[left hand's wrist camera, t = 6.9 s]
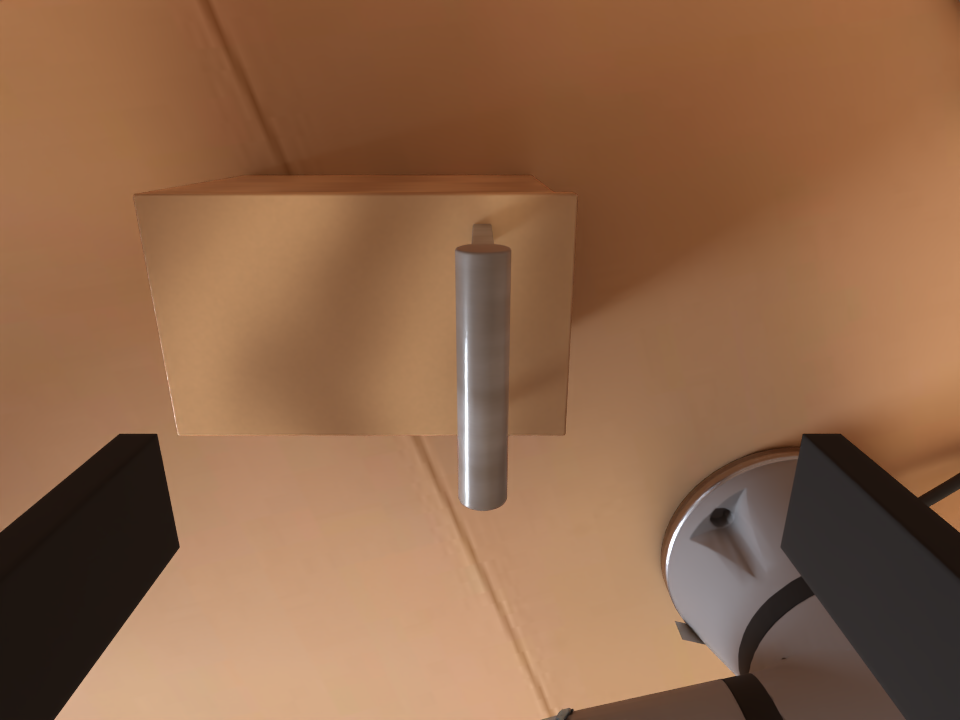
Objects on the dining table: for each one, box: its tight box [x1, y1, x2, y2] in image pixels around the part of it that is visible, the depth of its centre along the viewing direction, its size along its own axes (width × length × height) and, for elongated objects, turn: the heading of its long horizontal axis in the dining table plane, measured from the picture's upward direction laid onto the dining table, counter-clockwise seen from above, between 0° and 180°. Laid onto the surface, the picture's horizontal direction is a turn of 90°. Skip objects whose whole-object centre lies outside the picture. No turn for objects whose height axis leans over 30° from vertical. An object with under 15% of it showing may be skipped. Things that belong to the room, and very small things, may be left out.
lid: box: [133, 192, 578, 511], centre depth 21 cm, size 16×10×8 cm, turn 90°
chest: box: [149, 175, 553, 192], centre depth 30 cm, size 16×10×10 cm, turn 90°
